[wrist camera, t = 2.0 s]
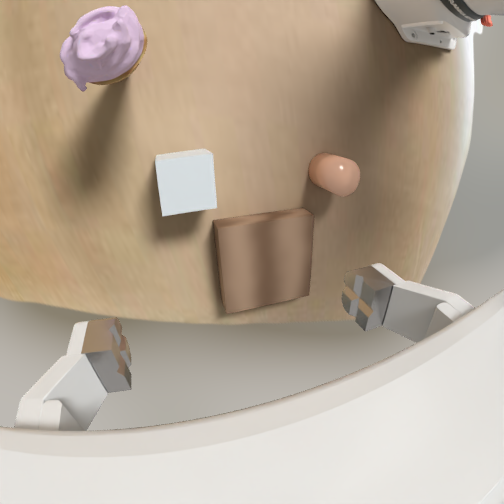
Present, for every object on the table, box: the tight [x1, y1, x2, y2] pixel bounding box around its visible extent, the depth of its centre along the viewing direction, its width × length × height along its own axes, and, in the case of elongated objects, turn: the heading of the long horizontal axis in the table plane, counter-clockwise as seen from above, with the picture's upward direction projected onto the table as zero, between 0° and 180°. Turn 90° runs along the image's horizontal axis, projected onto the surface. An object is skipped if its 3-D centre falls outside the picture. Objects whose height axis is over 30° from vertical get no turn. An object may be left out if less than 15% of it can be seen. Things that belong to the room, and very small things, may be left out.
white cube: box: [155, 149, 217, 216], centre depth 29 cm, size 6×6×6 cm
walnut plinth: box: [213, 208, 314, 314], centre depth 38 cm, size 12×12×3 cm
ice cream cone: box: [60, 6, 147, 91], centre depth 18 cm, size 7×6×15 cm
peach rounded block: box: [308, 153, 360, 196], centre depth 34 cm, size 5×5×5 cm
